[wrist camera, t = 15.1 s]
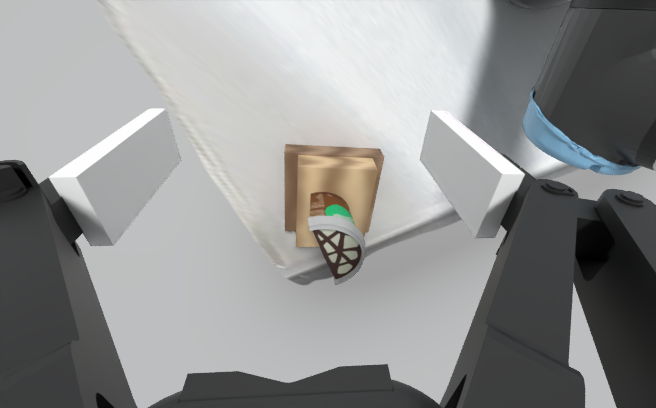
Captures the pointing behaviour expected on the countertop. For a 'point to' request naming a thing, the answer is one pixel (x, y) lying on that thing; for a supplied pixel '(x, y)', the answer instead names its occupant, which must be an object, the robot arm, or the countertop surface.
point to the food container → (336, 234)
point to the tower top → (334, 189)
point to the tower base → (296, 150)
